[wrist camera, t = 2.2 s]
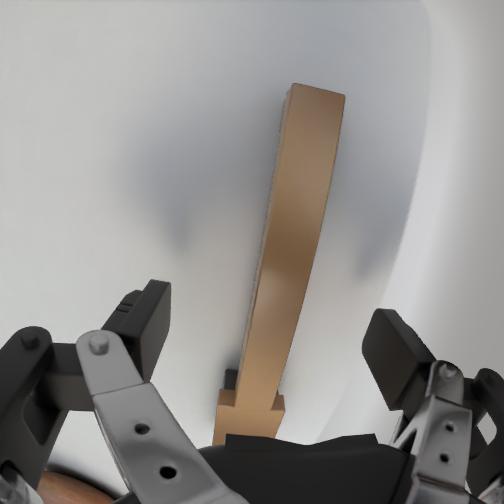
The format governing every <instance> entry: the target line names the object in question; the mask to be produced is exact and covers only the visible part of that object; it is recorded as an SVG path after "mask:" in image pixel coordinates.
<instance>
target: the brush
mask: <svg viewBox="0 0 504 504" xmlns="http://www.w3.org/2000/svg"><path fill="white" fill-rule="evenodd" d="M344 103H345V95H343V94H339V93H336V92H332V91H328V90H324V89H320V88H315V87H311V86H306V85H302V84H297V83H293V84H292V86H291V87H290V89H289V90H288V92H287V95H286V99H285V102H284V108H283V114H282V120H281V126H280V137H279V143H278V149H277V155H276V161H275V166H274V172H273V178H272V184H271V190H270V196H269V201H268V207H267V213H266V219H265V225H264V230H263V236H262V242H261V247H260V253H259V259H258V264H257V270H256V276H255V281H254V287H253V292H252V298H251V304H250V309H249V315H248V320H247V326H246V331H245V337H244V342H243V348H242V353H241V359H240V364H239V370H238V371H231V370H226V371H225V375H224V382H223V389H220V390H219V397H218V404H217V412H216V419H215V427H214V434H213V442H212V446H213V445H220V444H224V441H225V435H226V433H227V434H237V435H249V436H265V437H270V438H275V436H276V433H277V431H278V428H279V426H280V423H281V421H282V418H283V416H284V413H285V404H284V396H283V395H279V393H278V387H279V383H280V380H281V377H282V374H283V371H284V367H285V364H286V361H287V357H288V354H289V351H290V347H291V344H292V340H293V337H294V333H295V330H296V326H297V323H298V319H299V315H300V312H301V308H302V304H303V300H304V297H305V293H306V289H307V285H308V281H309V277H310V273H311V269H312V265H313V261H314V257H315V253H316V248H317V244H318V240H319V235H320V231H321V226H322V222H323V217H324V213H325V208H326V203H327V198H328V194H329V189H330V184H331V179H332V173H333V168H334V163H335V157H336V152H337V146H338V141H339V135H340V129H341V123H342V116H343V110H344Z"/></svg>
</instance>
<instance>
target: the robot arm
mask: <svg viewBox="0 0 504 504" xmlns="http://www.w3.org/2000/svg"><path fill="white" fill-rule="evenodd" d="M170 313H171V283H170V282H165V281H159V280H153V279H151V280H150V281H149V283H148V284H147V286H146V287H145V288H144V290H143V291H140V290H134V291H133V292H131V293H129V294H127V295H126V296H125V297H124V298H123V300H122V301H121V302H120V304H119V305H118V306H117V308H116V310H114V312H113V313H112V314H111V316H110V317H109V318H108V320H107V321H106V323H105V324H104V325H103V327H102V328H101V330H93V331H89V332H87V333H85V334H83V335H81V336H80V337H79V338H78V340H77V342H76V344H68V343H53V342H52V338H51V335H50V333H49V332H48V331H47V330H46V329H44V328H42V327H37V326H30V327H25V328H22V329H20V330H18V331H17V332H16V333H15V334H14V335H13V336H12V337H11V338H10V339H9V340H8V341H7V343H6V344H5V345H4V346H3V347H2V348H1V350H0V504H44V502H43V500H42V498H41V497H40V495H39V494H38V493H37V492H36V491H37V488H38V485H39V482H40V479H41V477H42V474H43V471H44V469H45V466H46V463H47V461H48V458H49V456H50V453H51V451H52V449H53V446H54V444H55V441H56V439H57V437H58V434H59V432H60V430H61V427H62V425H63V423H64V421H65V419H66V416H67V414H68V412H69V410H72V411H92V412H94V414H95V417H96V419H97V422H98V425H99V427H100V430H101V432H102V435H103V437H104V439H105V442H106V444H107V446H108V449H109V451H110V453H111V455H112V457H113V460H114V462H115V464H116V466H117V468H118V471H119V473H120V475H121V477H122V479H123V481H124V482H125V484H126V486H127V488H128V490H129V493H127V494H126V495H124V496H122V497H121V498H119V499H117V500H116V501H114V502H112V503H111V504H504V380H503V378H502V377H501V376H500V375H499V374H498V373H497V372H495V371H493V370H491V369H487V368H483V369H480V371H479V372H478V374H477V376H476V377H475V378H474V379H470V378H464V377H463V374H462V372H461V370H460V369H459V368H458V367H457V366H455V365H454V364H452V363H450V362H447V361H444V360H438V361H437V360H436V358H435V357H434V356H433V354H432V353H431V352H430V351H429V349H428V348H427V347H426V345H425V344H424V343H423V342H422V340H421V339H420V338H419V337H418V335H417V334H416V332H415V331H414V330H413V329H412V328H411V327H410V326H408V325H407V324H406V323H405V322H404V321H403V320H402V318H401V317H400V316H399V314H398V313H397V312H396V311H395V310H392V309H380V308H378V309H376V310H375V311H374V313H373V316H372V318H371V321H370V324H369V326H368V329H367V331H366V334H365V337H364V339H363V342H362V354H363V356H364V358H365V360H366V362H367V364H368V366H369V368H370V370H371V372H372V374H373V377H374V379H375V380H376V383H377V385H378V387H379V389H380V391H381V393H382V395H383V398H384V400H385V402H386V404H387V406H388V408H389V410H390V411H394V410H403V413H402V414H401V416H400V417H399V420H398V422H397V425H396V428H395V431H394V433H393V436H392V438H391V441H390V443H389V445H384V444H378V441H377V439H376V436H375V434H374V433H373V434H364V435H353V436H342V437H338V438H335V439H331V440H328V441H324V442H320V443H316V444H312V445H301V444H296V443H292V442H287V441H283V440H278V439H274V438H270V437H265V436H249V435H237V434H227V433H226V435H225V441H224V444H220V445H213V446H208V447H204V448H200V449H196V447H195V446H194V445H193V443H192V442H191V441H190V439H189V438H188V436H187V435H186V434H185V432H184V431H183V429H182V428H181V426H180V425H179V424H178V422H177V421H176V419H175V418H174V416H173V415H172V413H171V412H170V410H169V409H168V407H167V405H166V404H165V402H164V401H163V399H162V398H161V396H160V394H159V393H158V391H157V390H156V388H155V386H154V385H153V384H152V383H151V382H150V379H151V376H152V374H153V371H154V368H155V366H156V363H157V360H158V358H159V355H160V353H161V350H162V348H163V345H164V342H165V340H166V337H167V335H168V331H169V326H170ZM487 412H488V414H489V415H490V417H491V418H492V420H493V422H494V423H495V425H496V428H497V433H496V436H495V438H494V439H493V440H492V442H491V443H490V444H489V445H487V443H486V441H485V439H484V437H483V436H482V434H481V432H480V430H479V429H478V427H477V424H478V423H479V422H480V421H481V419H482V418H483V417H484V415H485V414H486V413H487ZM465 480H466V481H467V483H468V486H469V488H470V491H471V493H472V494H470V493H468V491H466V490H465Z"/></svg>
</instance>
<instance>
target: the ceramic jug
mask: <svg viewBox="0 0 504 504" xmlns="http://www.w3.org/2000/svg"><path fill="white" fill-rule="evenodd" d="M36 492H37V493H38V494H39V495H40V497H41V498H42V500H43V502H44V504H111V503H112V502H114V501H115V500H114V499H112V498H111V497H110V496H108V495H107V494H105V493H103V492H102V491H100V490H98V489H96V488H94V487H93V486H91V485H89V484H87V483H84V482H82V481H80V480H77V479H75V478H72V477H70V476H67V475H64V474H60V473H56V472H51V471H43V474H42V477H41V479H40V482H39V485H38V488H37V491H36Z"/></svg>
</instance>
